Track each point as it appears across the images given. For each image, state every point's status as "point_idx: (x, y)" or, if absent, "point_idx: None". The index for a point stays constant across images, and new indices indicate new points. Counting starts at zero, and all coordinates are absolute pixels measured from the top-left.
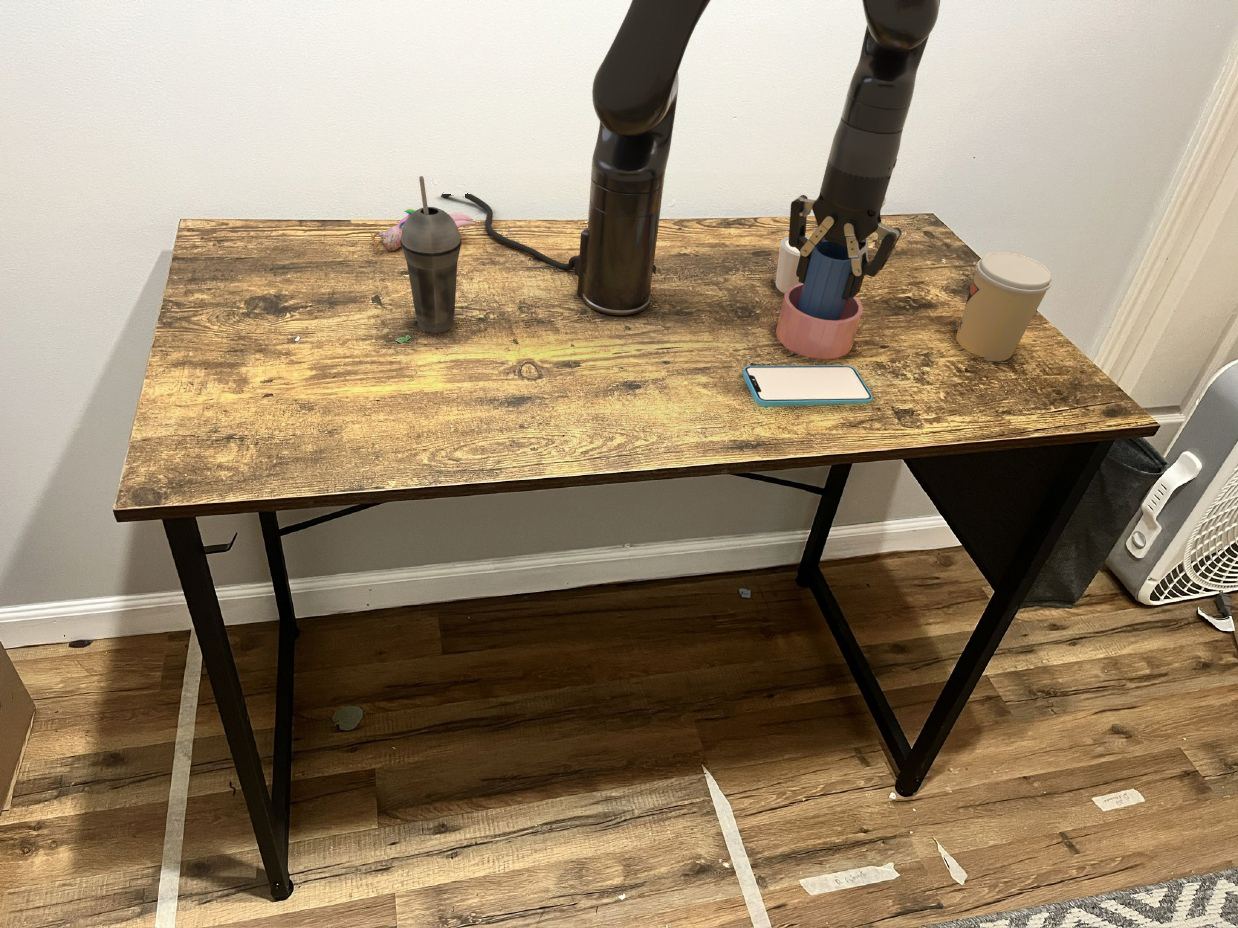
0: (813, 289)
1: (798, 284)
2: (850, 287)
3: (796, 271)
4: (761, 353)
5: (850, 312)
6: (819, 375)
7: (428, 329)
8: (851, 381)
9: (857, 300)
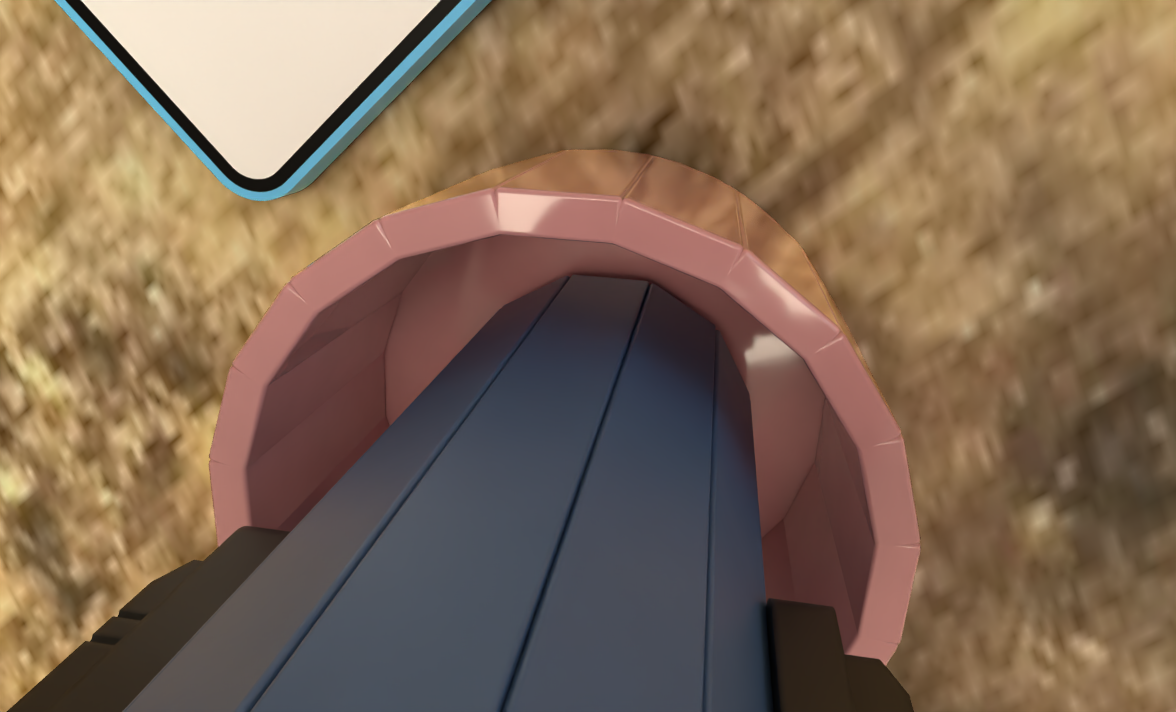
0: (581, 459)
1: None
2: (159, 618)
3: (909, 705)
4: (849, 25)
5: None
6: None
7: None
8: (176, 23)
9: None
